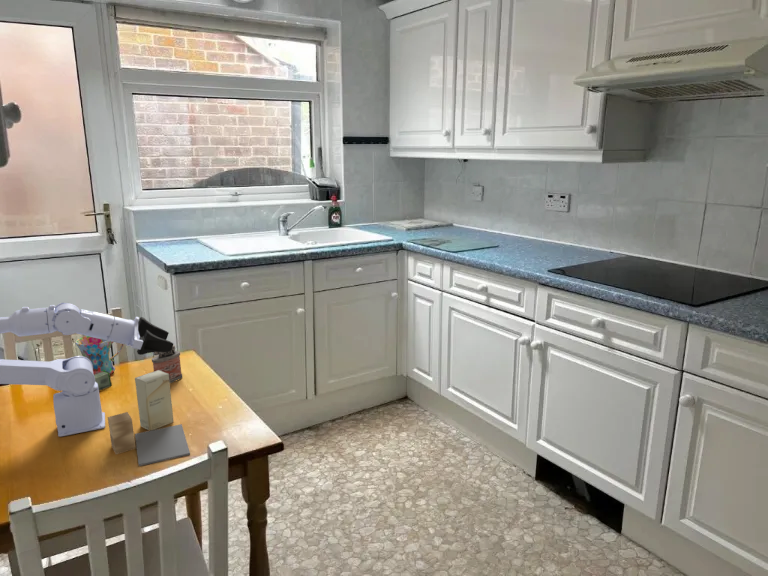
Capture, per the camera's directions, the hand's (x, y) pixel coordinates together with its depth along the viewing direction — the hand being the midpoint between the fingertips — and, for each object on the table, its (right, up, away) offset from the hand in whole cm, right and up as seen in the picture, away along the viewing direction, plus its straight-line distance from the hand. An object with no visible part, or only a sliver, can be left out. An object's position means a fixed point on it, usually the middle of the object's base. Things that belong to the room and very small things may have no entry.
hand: (169, 341), depth 139 cm
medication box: (-26, -15, +12) cm, 32 cm away
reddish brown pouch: (-7, -13, +19) cm, 24 cm away
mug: (-28, -11, +24) cm, 39 cm away
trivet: (+4, -21, -14) cm, 26 cm away
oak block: (-4, -21, -15) cm, 27 cm away
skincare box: (-1, -19, -5) cm, 20 cm away
